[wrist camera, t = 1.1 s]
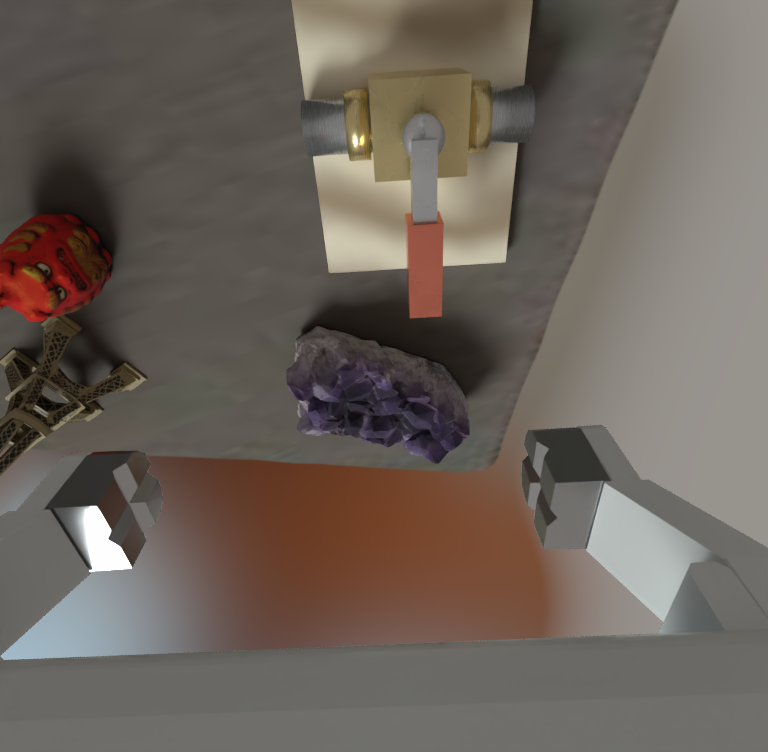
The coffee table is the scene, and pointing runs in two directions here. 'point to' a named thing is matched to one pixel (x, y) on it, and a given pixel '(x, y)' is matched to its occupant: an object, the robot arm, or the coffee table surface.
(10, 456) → the eiffel tower
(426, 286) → the valve lever
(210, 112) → the coffee table surface
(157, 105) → the coffee table surface
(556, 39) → the coffee table surface
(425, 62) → the base board
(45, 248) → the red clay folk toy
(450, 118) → the valve body
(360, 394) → the geode
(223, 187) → the coffee table surface
